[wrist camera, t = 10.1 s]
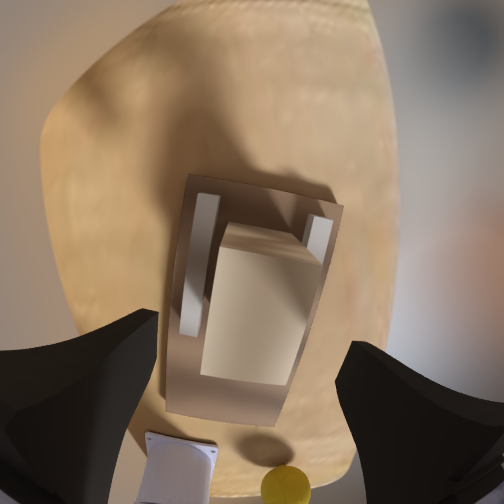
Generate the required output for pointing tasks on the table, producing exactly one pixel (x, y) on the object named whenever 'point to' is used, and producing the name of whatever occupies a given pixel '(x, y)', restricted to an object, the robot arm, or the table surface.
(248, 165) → the table surface
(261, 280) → the block
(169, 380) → the board
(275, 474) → the lemon
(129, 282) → the table surface
